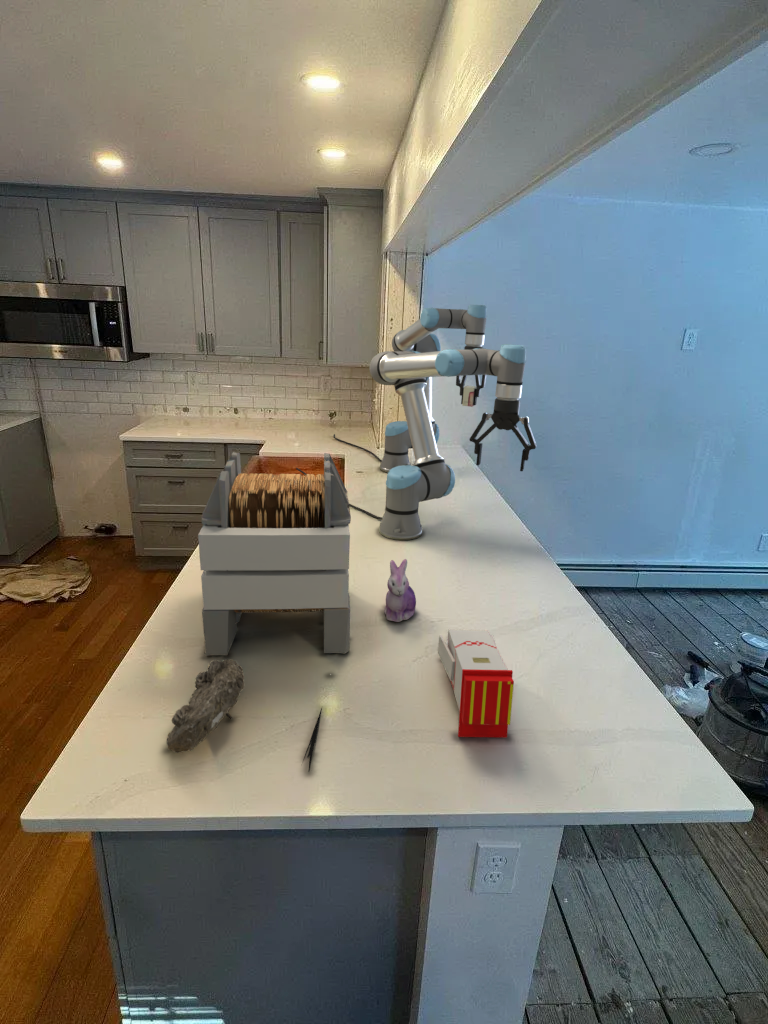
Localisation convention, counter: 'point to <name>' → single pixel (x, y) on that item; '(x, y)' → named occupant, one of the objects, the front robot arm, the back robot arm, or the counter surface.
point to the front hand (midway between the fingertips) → (499, 467)
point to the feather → (313, 740)
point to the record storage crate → (275, 551)
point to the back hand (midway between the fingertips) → (468, 404)
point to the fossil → (206, 705)
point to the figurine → (399, 594)
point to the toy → (478, 682)
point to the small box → (468, 396)
